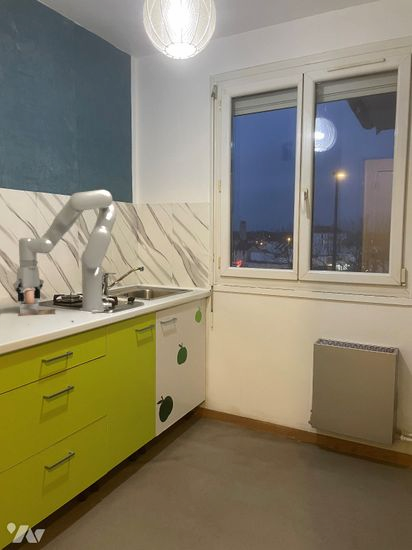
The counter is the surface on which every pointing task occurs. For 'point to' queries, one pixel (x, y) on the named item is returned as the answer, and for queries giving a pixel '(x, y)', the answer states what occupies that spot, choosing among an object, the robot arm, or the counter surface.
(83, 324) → the counter surface
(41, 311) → the socket board
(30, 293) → the peg
